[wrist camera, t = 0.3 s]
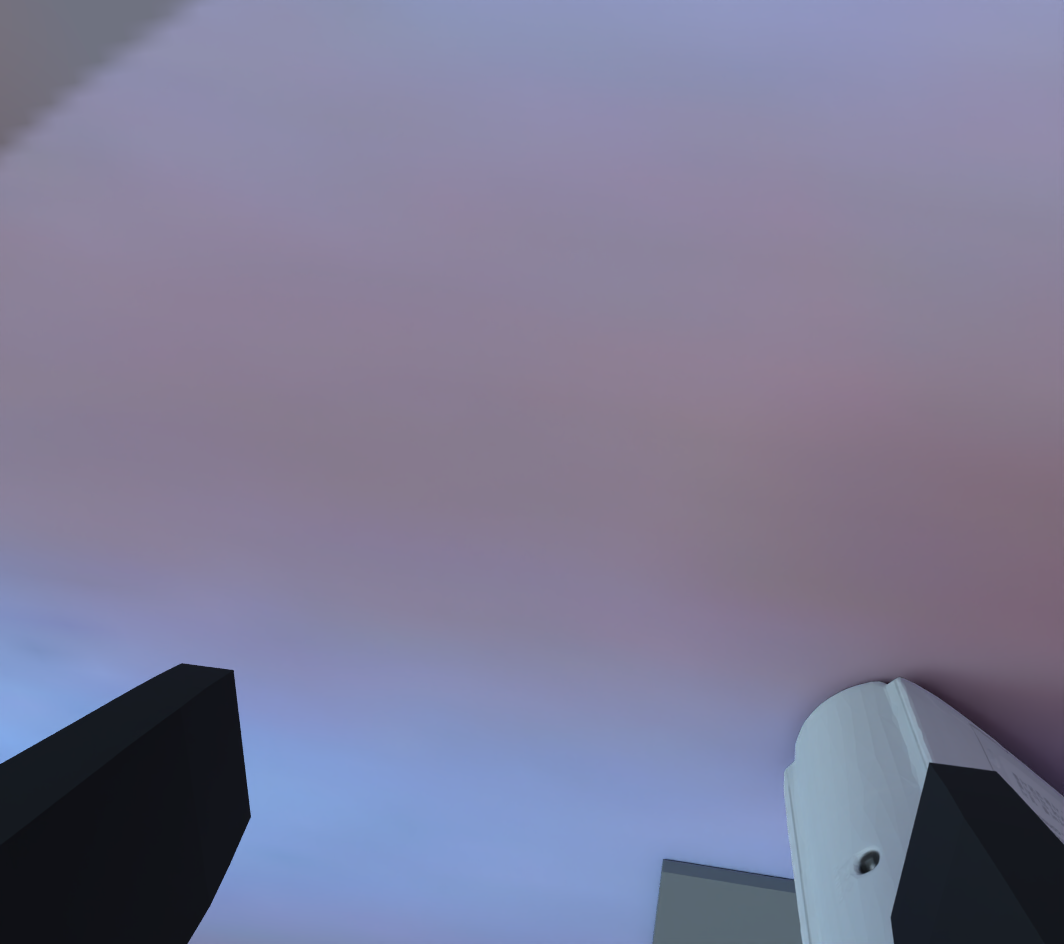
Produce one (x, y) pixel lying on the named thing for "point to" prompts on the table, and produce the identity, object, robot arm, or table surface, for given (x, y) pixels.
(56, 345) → the table surface
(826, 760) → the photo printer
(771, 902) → the mat
